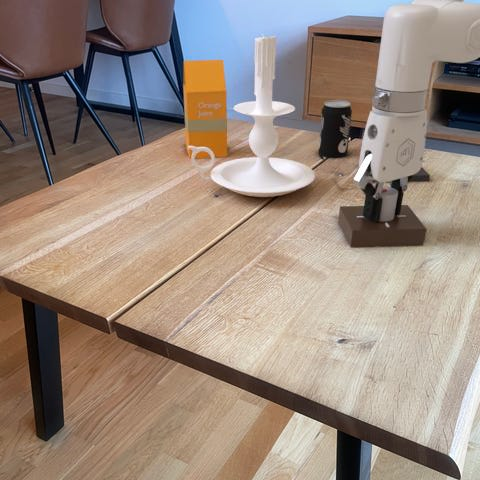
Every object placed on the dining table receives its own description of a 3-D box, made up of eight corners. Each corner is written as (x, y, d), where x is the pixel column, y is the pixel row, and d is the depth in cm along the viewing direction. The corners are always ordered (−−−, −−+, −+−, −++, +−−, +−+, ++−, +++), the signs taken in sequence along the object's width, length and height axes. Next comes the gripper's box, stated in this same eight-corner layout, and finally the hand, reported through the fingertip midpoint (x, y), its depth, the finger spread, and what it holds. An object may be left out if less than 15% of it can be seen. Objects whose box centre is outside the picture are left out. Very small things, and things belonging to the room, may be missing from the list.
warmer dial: (381, 210, 94) (385, 183, 92) (399, 218, 92) (403, 190, 89) (364, 215, 93) (368, 187, 90) (381, 223, 90) (386, 195, 87)
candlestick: (192, 172, 119) (185, 26, 104) (306, 171, 120) (317, 25, 104) (187, 209, 102) (178, 41, 87) (320, 208, 103) (335, 41, 87)
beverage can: (330, 163, 124) (336, 108, 117) (312, 156, 129) (316, 102, 122) (352, 158, 127) (359, 104, 120) (333, 151, 132) (338, 98, 125)
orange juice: (186, 148, 133) (181, 58, 122) (222, 146, 134) (221, 56, 123) (189, 159, 127) (185, 64, 116) (227, 156, 128) (226, 62, 117)
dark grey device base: (412, 169, 121) (415, 151, 119) (427, 185, 113) (431, 166, 111) (358, 170, 121) (360, 152, 118) (369, 186, 112) (372, 167, 110)
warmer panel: (404, 220, 98) (407, 203, 97) (423, 245, 90) (427, 227, 88) (338, 222, 98) (339, 205, 96) (350, 247, 89) (352, 229, 88)
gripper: (377, 113, 75) (360, 236, 86) (456, 98, 83) (432, 212, 94) (339, 102, 81) (328, 219, 91) (417, 89, 88) (398, 198, 99)
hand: (381, 214), depth 92 cm, fingers closed on warmer dial, 4 cm apart
